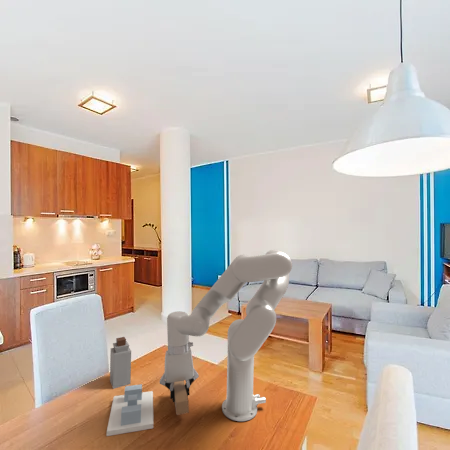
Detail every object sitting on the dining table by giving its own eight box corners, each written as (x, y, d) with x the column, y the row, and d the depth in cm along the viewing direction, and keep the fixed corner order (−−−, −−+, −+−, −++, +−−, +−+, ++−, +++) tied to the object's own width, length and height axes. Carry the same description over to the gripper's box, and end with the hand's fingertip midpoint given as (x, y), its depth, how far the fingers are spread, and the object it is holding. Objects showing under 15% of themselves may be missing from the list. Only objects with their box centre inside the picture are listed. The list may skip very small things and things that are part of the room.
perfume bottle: (126, 376, 118) (127, 334, 118) (130, 383, 112) (131, 340, 113) (109, 380, 114) (110, 337, 115) (113, 388, 109) (114, 343, 109)
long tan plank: (182, 386, 106) (182, 375, 106) (188, 412, 91) (188, 400, 91) (172, 387, 105) (172, 377, 105) (176, 415, 90) (176, 402, 90)
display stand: (152, 394, 105) (153, 380, 105) (153, 428, 88) (153, 411, 88) (113, 400, 102) (114, 385, 102) (106, 436, 84) (107, 418, 84)
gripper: (199, 340, 104) (201, 388, 104) (154, 346, 99) (155, 397, 99) (203, 348, 97) (204, 400, 97) (154, 355, 92) (156, 410, 92)
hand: (180, 398), depth 98 cm, fingers closed on long tan plank, 4 cm apart
